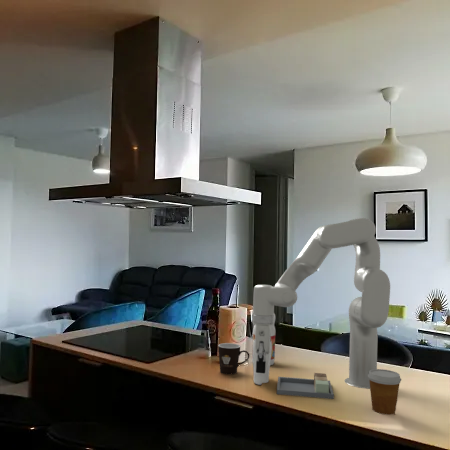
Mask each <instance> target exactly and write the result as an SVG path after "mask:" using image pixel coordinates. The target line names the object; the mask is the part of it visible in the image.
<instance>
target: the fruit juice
mask: <svg viewBox="0 0 450 450" xmlns="http://www.w3.org/2000/svg"><path fill="white" fill-rule="evenodd" d="M275 322H276V314H275V312H274V324H273V325H271V341H272V352H271V362H270V366H273V365H274V364H275V359H276V358H275V357H276V356H275V354H276V326H275ZM255 331H256V324H253V328H252V341H253V340H254V339H255ZM251 347H252V349H251V350H252V351H251V352H252V353H251V363H253V344H252V346H251Z"/></svg>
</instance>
